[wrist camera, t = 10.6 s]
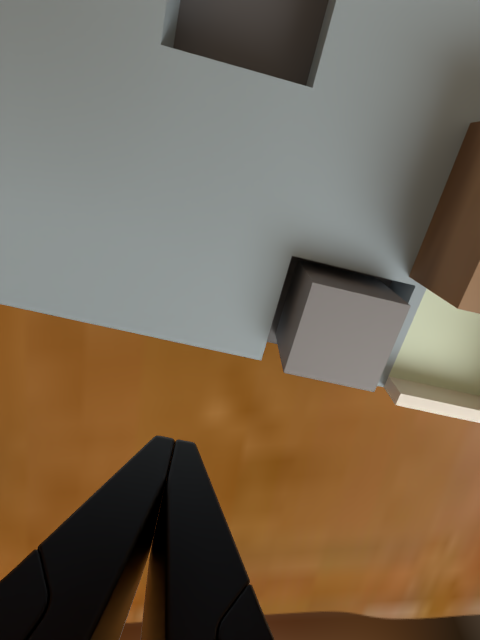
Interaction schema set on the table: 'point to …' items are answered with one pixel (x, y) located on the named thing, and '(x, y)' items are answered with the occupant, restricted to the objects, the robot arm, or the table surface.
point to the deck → (236, 166)
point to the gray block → (338, 326)
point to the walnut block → (455, 233)
